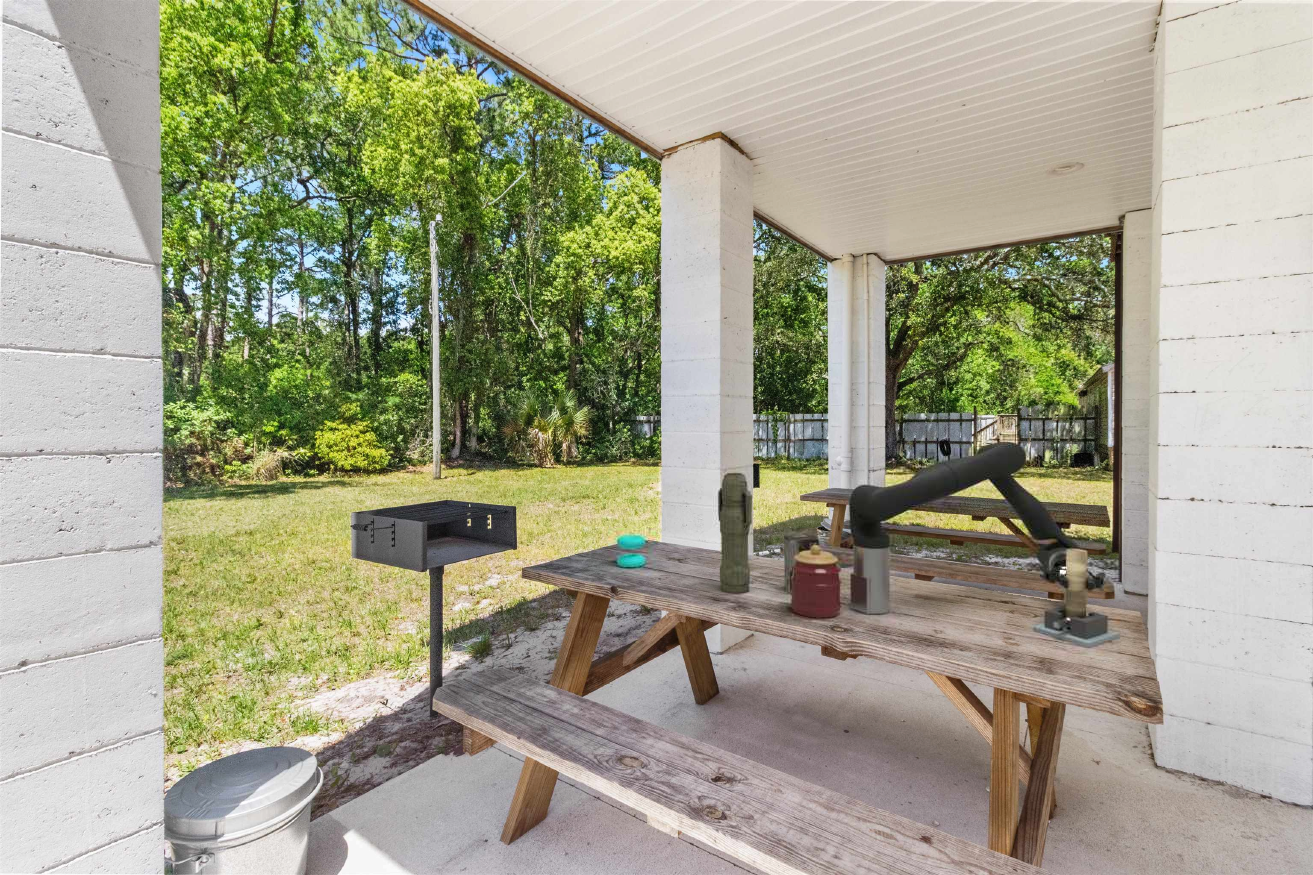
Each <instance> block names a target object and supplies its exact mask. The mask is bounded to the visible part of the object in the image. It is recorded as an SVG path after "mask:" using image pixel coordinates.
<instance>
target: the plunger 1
mask: <svg viewBox="0 0 1313 875" xmlns="http://www.w3.org/2000/svg"><path fill="white" fill-rule="evenodd" d="M1066 626H1071V618H1070V617H1066V618H1064V619H1062V620H1058V621H1054V627H1056V628H1062V627H1066Z"/></svg>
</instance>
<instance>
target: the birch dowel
mask: <svg viewBox="0 0 1313 875" xmlns="http://www.w3.org/2000/svg"><path fill="white" fill-rule="evenodd" d="M1087 569H1088V551H1087V550H1085V549H1081V548H1080V549H1067V550H1066V577H1067V578H1068V588H1065V604H1064V606H1065V618H1066V617H1070V618H1073V617H1078V618H1081V619H1083V618H1086V612H1087V595H1088V594H1087V591H1088V590H1087ZM1068 627H1070V628H1071V626H1068Z"/></svg>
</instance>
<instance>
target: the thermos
mask: <svg viewBox="0 0 1313 875" xmlns="http://www.w3.org/2000/svg"><path fill="white" fill-rule="evenodd" d="M717 505H718V506H717V509H718V510H717V513H718V521H719V532H720V535H721V563H720V566H719V581H720V582H719V583H720V588H719V589H720V591H721V592H723V593H725V594H730V595H744V594H746V593H749V592H750V583H751V568H750V565H749V534H750V526H751V524H752V522H753V521H752V516H753V515H752V510H753V507H752V506H753V495H752V492H751V490H748V481H747V478H746V475H745V474H743V472H728V473H726V474H724V476H723V479H722V482H721V487H720V488H719V490H718V492H717Z"/></svg>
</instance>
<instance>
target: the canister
mask: <svg viewBox="0 0 1313 875" xmlns="http://www.w3.org/2000/svg"><path fill="white" fill-rule="evenodd" d="M794 559H795V560H796V561H795V562H794V563H793V564H792V565H791V568H792V569H793V576H792V577H791V580H792V594H791V598H790V605H791V610H792V611H793V613H796V614H797V615H800V616H804V617H808V618H817V619H823V618H825V619H827V618H833V617H836V616H838V615H839V614H840V613H841V609H842V602H841V584H842V580H841V578H840V572H841V571H842V568H841V566H840V565H839V564H838V561H839V558H837V556H835V555H833V553H831V552H828V551H824V550H822V549H821V547H820V545H819V546H818V545H813V546H812V547H811V550H808V551H802V552H800V553H799V554H797V555H796V556H794Z"/></svg>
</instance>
